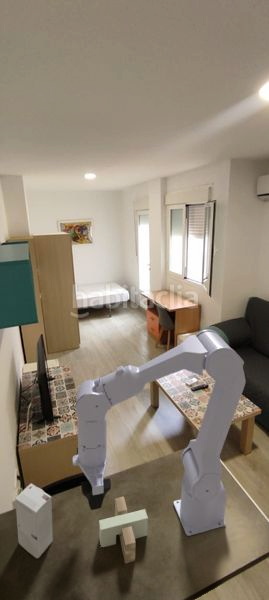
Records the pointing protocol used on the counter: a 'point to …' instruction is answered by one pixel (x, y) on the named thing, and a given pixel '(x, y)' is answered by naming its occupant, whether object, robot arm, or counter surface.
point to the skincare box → (34, 520)
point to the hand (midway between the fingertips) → (93, 491)
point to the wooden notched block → (125, 532)
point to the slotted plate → (122, 526)
